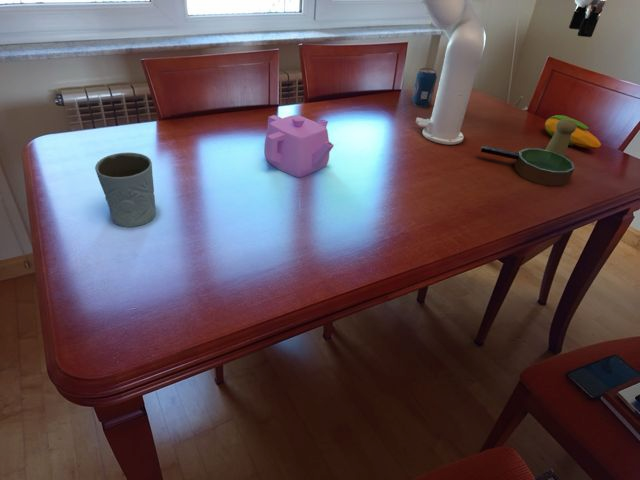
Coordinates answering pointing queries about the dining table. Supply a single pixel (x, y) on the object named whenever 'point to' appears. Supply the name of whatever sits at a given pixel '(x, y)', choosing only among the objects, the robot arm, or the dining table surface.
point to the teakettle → (297, 144)
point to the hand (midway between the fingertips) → (579, 32)
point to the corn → (574, 133)
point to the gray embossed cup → (128, 188)
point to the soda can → (424, 87)
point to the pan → (538, 165)
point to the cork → (561, 136)
